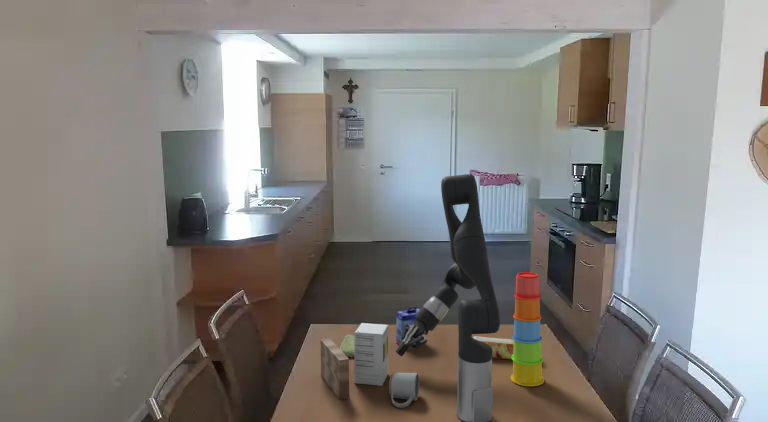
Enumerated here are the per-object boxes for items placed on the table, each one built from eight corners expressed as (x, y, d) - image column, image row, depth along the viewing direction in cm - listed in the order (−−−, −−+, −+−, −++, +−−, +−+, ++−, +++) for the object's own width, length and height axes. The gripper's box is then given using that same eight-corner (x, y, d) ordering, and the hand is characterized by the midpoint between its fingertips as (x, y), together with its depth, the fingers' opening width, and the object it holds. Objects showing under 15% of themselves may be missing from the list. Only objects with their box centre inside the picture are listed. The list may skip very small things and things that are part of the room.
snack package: (532, 356, 199) (533, 337, 198) (533, 363, 192) (534, 344, 192) (471, 351, 203) (472, 333, 202) (471, 358, 196) (471, 340, 195)
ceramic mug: (392, 390, 172) (392, 366, 170) (419, 392, 170) (419, 369, 169) (386, 407, 161) (386, 382, 160) (414, 410, 160) (414, 385, 159)
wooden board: (349, 397, 167) (348, 358, 165) (339, 399, 166) (339, 360, 164) (329, 373, 183) (329, 338, 182) (320, 374, 182) (320, 339, 180)
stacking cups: (514, 387, 174) (519, 278, 169) (507, 373, 184) (511, 270, 179) (547, 387, 174) (553, 279, 169) (539, 373, 184) (543, 270, 179)
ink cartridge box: (401, 347, 205) (402, 309, 203) (395, 342, 210) (395, 305, 208) (425, 343, 209) (426, 306, 207) (418, 338, 214) (418, 302, 212)
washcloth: (378, 341, 212) (378, 333, 212) (372, 360, 195) (372, 351, 194) (344, 340, 214) (344, 331, 213) (335, 358, 196) (335, 350, 196)
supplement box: (382, 386, 174) (382, 334, 172) (353, 383, 176) (353, 332, 174) (388, 373, 183) (388, 324, 181) (361, 371, 185) (361, 322, 183)
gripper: (415, 300, 190) (382, 340, 187) (435, 312, 178) (400, 355, 175) (429, 313, 193) (396, 353, 190) (449, 326, 181) (414, 368, 178)
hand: (398, 354), depth 183 cm, fingers closed
